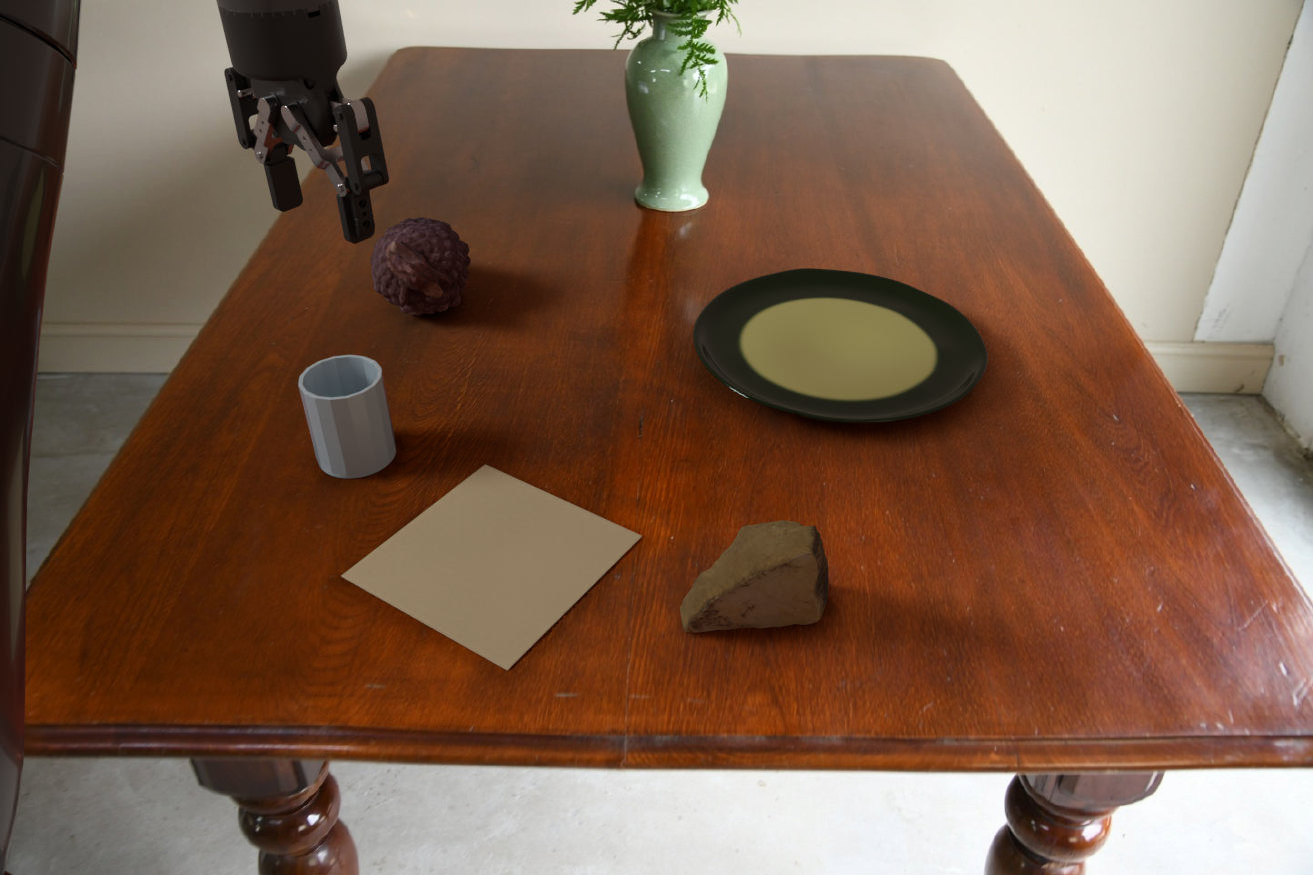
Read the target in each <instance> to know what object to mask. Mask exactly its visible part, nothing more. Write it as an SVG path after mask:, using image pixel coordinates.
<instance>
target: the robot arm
mask: <svg viewBox="0 0 1313 875" xmlns="http://www.w3.org/2000/svg"><path fill="white" fill-rule="evenodd" d="M82 4H83V0H0V875H14V874H13V873H11V872H9V871H7V870H6V869H7V866H8V863H9V860H10V857H11V852H12V847H13V842H14V836H15V832H16V828H17V827H16V826H17V821H18V815H19V810H20V805H21V796H22V786H23V778H24V761H25V730H26V729H25V727H26V725H25V723H26V652H27V650H26V649H27V648H26V641H27V640H26V638H27V637H26V636H27V635H26V633H27V632H26V630H27V629H26V627H27V626H26V625H27V619H26V618H27V532H28V531H27V529H28V496H29V495H28V492H29V480H30V468H31V467H30V466H31V453H32V452H31V451H32V439H33V438H32V437H33V429H34V428H33V427H34V416H35V405H36V396H37V382H38V374H39V372H38V371H39V362H40V350H41V349H40V347H41V338H42V329H43V319H44V310H45V300H46V292H47V283H48V275H49V267H50V259H51V252H52V245H53V239H54V233H55V227H56V222H57V217H58V211H59V205H60V200H61V195H62V189H63V183H64V177H65V175H64V173H65V168H66V161H67V152H68V143H69V135H70V127H71V118H72V112H73V111H72V110H73V104H74V103H73V102H74V93H75V86H76V85H75V84H76V76H77V75H76V71H77V69H78V58H79V45H80V31H81V18H82V6H83V5H82ZM216 4H217V9H218V12H219V17H220V21H221V26H222V29H223V33H224V38H225V42H226V46H227V50H228V54H229V59H230V63H231V67H227V68H225V69H224V71H223V73H224V79H225V84H226V88H227V93H228V97H229V103H230V107H231V112H232V116H233V120H234V125H235V130H236V135H237V140H238V143H239V144H240V146H241V147H242V148H243V150H249V149H251V150H253V152H254V153H253V154H254V156H255V158H256V160H257V161H258V162H259V164H262V165H263V170H264V172H265V177H266V181H267V185H268V190H269V194H270V198H271V202H272V206H273V209H275V210H277V211H279V212H281V213H286V212H289V211H290V210H293V209H296V208H298V207H301V206H302V204H303V202H304V197H303V192H302V188H301V183H300V178H299V174H298V169H297V165H296V160H295V157H292V156H291V154H293V150H294V147H295V146H296V147H298V148H299V149H300V150H302V151H304V152H306V153H307V155H308V157H309V158H310V160H311V162H312V164H313V165H314V166H315V167H316V168H317V169H319V170H323V171H324V172H325V174H326V175H327V177H328V179H329V180H330V183H331V184H332V186H333V187H334V189H335V191H336V194H335V198H336V203H337V208H338V213H339V218H340V223H341V229H342V234H343V238H344V240H345V241H347V242H348V243H351V244H353V245H356V244H359V243H361V242H364V241H366V240H369V239H371V238H373V237H374V234H375V231H376V223H375V219H374V218H375V217H374V213H373V206H372V199H371V194H370V192H371V191H372V190H374V189H376V188H379V187H383V186H385V185H388V184H389V182H390V176H389V170H388V166H387V161H386V157H385V156H386V155H385V150H384V146H383V141H382V136H381V131H380V126H379V121H378V115H377V111H376V110H377V109H376V105H375V104H374V102H373V100H372V99H371V98H370V97H368V96H364V97H361V98H358V99H354V100H353V99H349V98H345V96H344V94H343V92H342V89H341V87H340V84H339V81H338V73H339V71H340V69H341V68H342V66H344V64H345V63H346V62H347V59H348V49H347V44H346V38H345V32H344V26H343V21H342V14H341V9H340V4H339V0H216ZM256 115H257V118H256V122H255V125H254V128H252V129H251V124H250V118H251V117H252V116H256ZM337 138H338V139H339V143H340V145H338V146H336V147H333V148H329V149H327V147H330V146H333V145H334V143H335V142H336V140H337ZM366 157H368V161H369V166H370V169H369V167H368V165H367V163H366V162H365V160H364V158H366ZM343 161H344V165H345V170H346V175H345V173H344V171H343V170H342V168H341V167H340V164H339V163H341V162H343Z"/></svg>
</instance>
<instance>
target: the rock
mask: <svg viewBox="0 0 1313 875" xmlns="http://www.w3.org/2000/svg"><path fill="white" fill-rule="evenodd" d="M828 560H829V559H828V558H827V555H826V550H825V547H824V541H823V538H822V537H821V533H820V532H819V531H818V529H817V525H815V524H814V525H807V526H806V525H803V524H802V523H800V522H798V521H791V520H785V519H783V520H782V519H781V520H776V521H770V522H761V523H758V524H752V525H750V524H746V525H743V526H742V527H741V528H740V529H739V530H738V532H737V535H736V537H735V538H734V540H733V541H732V543H731V544H730V545H729V547H727V549H725V550H724V551H723V552H722V553H721V554H720V556H719V558H717V559H716V560H715V561H714V563H713V564H712V566H711V567H710V568H709V569H707V570H703V571H702V572H701V573H700V574H698V576H697V577H696V579H695V580H694V582H693V584H692V587H691V588H690V590H689V591H688V593H687V594H686V595H685V596H684V597H683V598H682V602H681V605H680V606H679V612H680V619H681V626H682V628H683V631H684V632H685V633H693V634H694V633H705V632H714V631H728V630H737V629H749V628H756V629H767V628H781V627H786V626H793V625H801V626H803V625H804V626H805V625H806V626H807V625H812V624H815V623H817V622H819V621H820V619H821V618H822V616H823V613H824V610H825V608H826V605H827V603H828V597H829V586H830V580H829V579H830V578H829V576H830V575H829V562H828Z"/></svg>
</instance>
